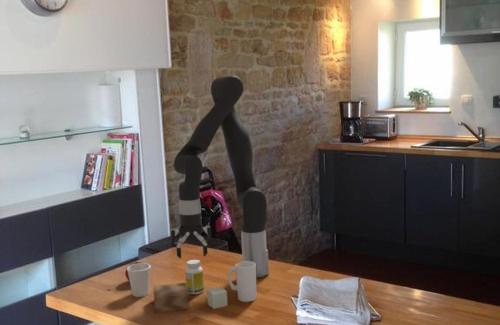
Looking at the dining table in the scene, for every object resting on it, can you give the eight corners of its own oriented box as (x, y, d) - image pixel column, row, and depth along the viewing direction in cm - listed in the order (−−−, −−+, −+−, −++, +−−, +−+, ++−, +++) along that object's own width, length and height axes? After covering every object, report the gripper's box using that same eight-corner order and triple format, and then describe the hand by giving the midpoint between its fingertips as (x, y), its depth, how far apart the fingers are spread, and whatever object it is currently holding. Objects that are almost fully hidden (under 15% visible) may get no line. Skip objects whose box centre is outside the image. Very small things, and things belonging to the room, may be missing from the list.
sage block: (221, 300, 191) (220, 286, 190) (227, 305, 186) (226, 291, 186) (207, 304, 189) (206, 289, 188) (213, 309, 184) (212, 294, 184)
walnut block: (186, 296, 196) (185, 282, 195) (189, 308, 185) (188, 294, 185) (154, 300, 194) (153, 286, 193) (155, 312, 183) (154, 298, 183)
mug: (259, 295, 194) (258, 261, 192) (253, 303, 187) (251, 268, 186) (232, 293, 197) (230, 260, 195) (225, 300, 191) (223, 266, 189)
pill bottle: (205, 288, 203) (203, 258, 201) (202, 294, 197) (200, 264, 195) (188, 288, 203) (186, 258, 202) (184, 295, 197) (182, 264, 196)
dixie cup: (136, 288, 206) (134, 262, 204) (156, 290, 203) (154, 263, 202) (124, 297, 198) (121, 269, 197) (145, 299, 195) (143, 271, 194)
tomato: (129, 287, 207) (127, 266, 206) (123, 280, 215) (121, 260, 214) (152, 282, 211) (151, 262, 210) (145, 276, 219) (144, 256, 218)
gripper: (209, 207, 201) (211, 251, 203) (168, 210, 198) (171, 255, 201) (211, 212, 194) (213, 258, 196) (169, 215, 191) (172, 261, 193)
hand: (192, 256), depth 198 cm, fingers open, 8 cm apart
